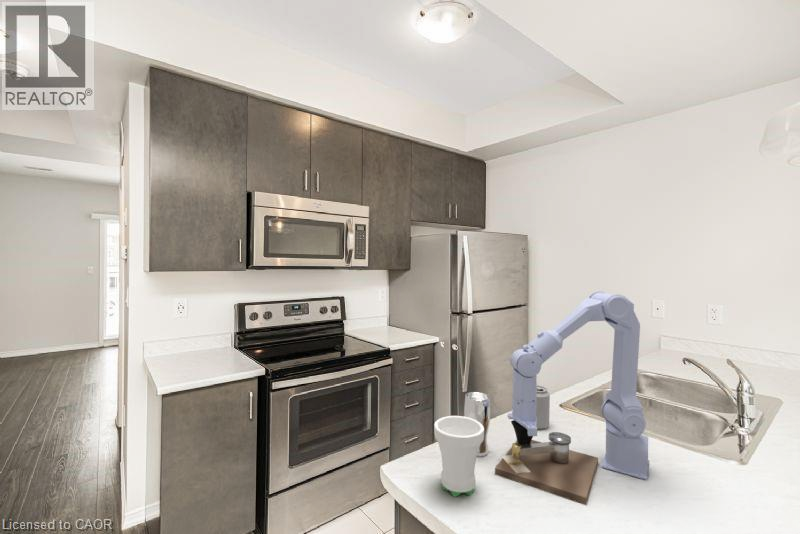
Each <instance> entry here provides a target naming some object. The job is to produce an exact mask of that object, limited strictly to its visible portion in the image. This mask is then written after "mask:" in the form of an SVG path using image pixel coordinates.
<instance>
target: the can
mask: <svg viewBox="0 0 800 534" xmlns="http://www.w3.org/2000/svg"><path fill="white" fill-rule="evenodd" d="M550 399H551V397H550V393H549V391H548V388H547V387H546V386H544V385H538V384H537V389H536V416H537V423H536V427H537V430H545V429H546V428H547V427H549V426H550V407H551V406H550V403H551V402H550Z"/></svg>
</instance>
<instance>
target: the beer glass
mask: <svg viewBox="0 0 800 534" xmlns="http://www.w3.org/2000/svg"><path fill="white" fill-rule="evenodd" d="M464 396H465V397H464V408H463V409H464V410H463V411H464V413H463V414H464V415H463V416H464V417H469V418H472V419H475V420H477V421H478V422H480V423H481V424H482V425H483V427H484V440H483V442H482V443H481V445H480V447H479V450H478V453H477V457H479V458H481V457H486V456H487V455H488V454H489V447H488V446H489V445H488V433H489V428H490V423H491V408H492V407H491V396H490V395H489V394H487V393H484V392H482V391H481V392H479V391H471V392H467V393H465V395H464Z"/></svg>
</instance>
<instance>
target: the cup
mask: <svg viewBox="0 0 800 534" xmlns="http://www.w3.org/2000/svg"><path fill="white" fill-rule="evenodd" d="M433 426H434V427H433V430H434V431H433V432H434V437H435V440H436V442H437V444H438V446H439V450H440V455H441V462H442V463H441V464H442V470H441V480H440V482H441V487H442V490H445V491H449V492H450V493H451V494H452V495H453V496H454V497H459V496H460V495H461V494H466V495H470V496H471V495H472V494H473V491H474V490H475V486H476V475H475V470H476V469H475V467H476V459H477V457H478V456H477V453H478V450H479V447H480V445H481V443H482V442H483V440H484V427H483V425H482V424H481V423H480V422H478V421H477V420H475V419H472V418H469V417H465V416H464V415H463V416H462V415H448V416H444V417H443V416H442V417H440V418H438V419H437V420H436V421H435V422H434V425H433Z"/></svg>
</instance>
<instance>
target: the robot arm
mask: <svg viewBox="0 0 800 534" xmlns="http://www.w3.org/2000/svg"><path fill="white" fill-rule="evenodd" d="M634 308H635V304H634V303H633V302H632V301H631V300H630V299H628V298H627V297H626V296H624V295H622V294H615V293H610V292H609V293H608V292H604V291H594V292H592V293H591V294H590V295H589V296H588V297H586V298H584V299H583V300H582V301H581V303H580V304H579V305H578V306H577V307H576V308H575V309H574V310H572V312H571V313H570V314H569V315H568V316H566V317H565V319H563V320H562V321H561V322H559V324H557V326H556V327H554V328H553V329H551V330H549V329H544V330H543V331H541V330H540V331H538V332H537V333H536V335H537V336H536V337H535V338H533V339H532V340H531V341H530V342H529V343H527V344H523V345H522V348H521V349H520V348H519V349H516V350H515V351H514V352H513V353H512V355H511V357H510V358H509V363H510V365H511V367H512V368H513V369H512V373H513V374H512V411H511V413H507V418H508V419H509V420H511V425H512V427H513V430H514V433H515V437H516V441H517V443H518V444H520V445H525V444H530V443H531V440H533V438H534V437H538V429H537V427H536V423H537V416H536V389H537V385H538V383H537V375H538V374H539V373H540V371H541V369H542V365H543V364H544V363H545V362H547V361H548V360H549V359H550V358H552V357H553V356H554V355H555V354H556V353H557V352H559V351H560V350H561V349H562V348H563V344H564V340H566V339H567V338H569V337H570V336H571V335H573V334H574V333H575V332H577V331H578V330H579V329H581V328H582V327H583V326H585V325H586V324H588V323H590V322H604V321H605V322H606V323H607V325H609V326H610V327H611V328H613V330H614V333H613V334H614V336H613V351H612V368H611V369H612V370H611V382H610V383H611V388H610V390H609V391H608V392H606V393H605V399H604V402H603V404H601V408H600V412H601V415H602V418H603V419H604V420H605V453H604V457H603V460H602V463H601V467H602V468H603V469H606V470H610V471H614V472H617V473H621V474H623V475H628V476H631V477H636V478H639V479H642V480H648V469H650V460H649V436H646V435H643V433H644V432H645V430H646V427H647V423H646V422H647V421H646V419H645V417H644V412H643V411H644V410H643V409H644V407H643V406H642V404H641V402H640V400H639V398H638V396H637V385H638V369H639V368H638V367H639V355H640V353H639V351H640V335H641V333H640V332H641V323H640V321H639V318H638V317H637V314H636V313H635V310H634Z"/></svg>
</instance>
